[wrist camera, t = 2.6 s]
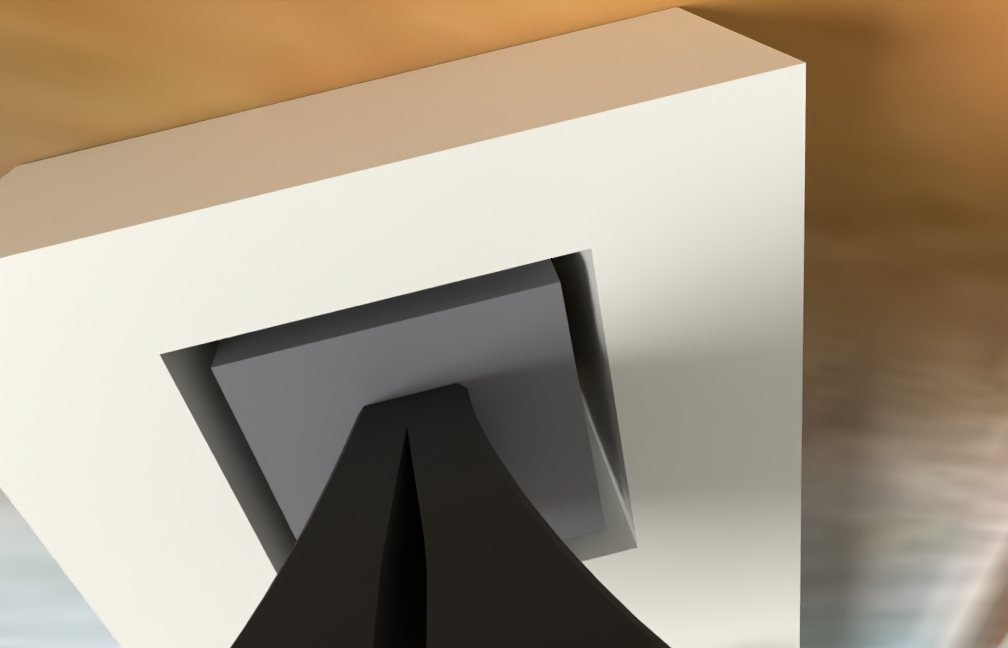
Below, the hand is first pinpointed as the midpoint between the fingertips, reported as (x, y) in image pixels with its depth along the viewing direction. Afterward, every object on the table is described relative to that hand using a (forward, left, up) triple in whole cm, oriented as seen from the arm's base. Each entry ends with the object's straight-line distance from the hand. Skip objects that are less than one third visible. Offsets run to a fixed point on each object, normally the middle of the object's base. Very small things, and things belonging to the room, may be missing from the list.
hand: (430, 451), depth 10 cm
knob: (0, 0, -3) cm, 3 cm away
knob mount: (-8, 0, -4) cm, 8 cm away
